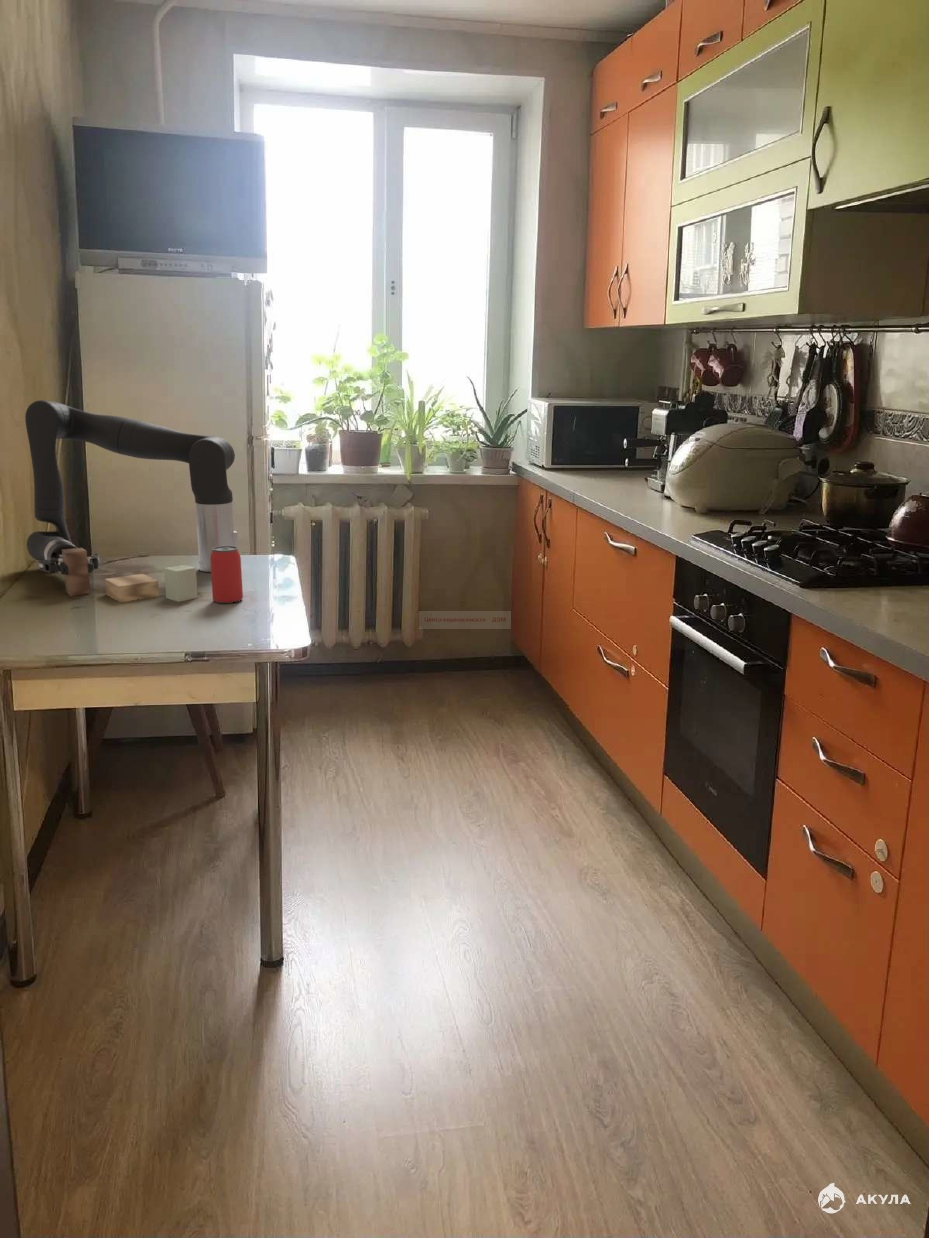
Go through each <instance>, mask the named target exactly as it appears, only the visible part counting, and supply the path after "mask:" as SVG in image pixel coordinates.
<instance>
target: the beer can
mask: <svg viewBox="0 0 929 1238" xmlns="http://www.w3.org/2000/svg"><path fill="white" fill-rule="evenodd" d="M237 549H238V550H237ZM212 550H213V551H212V554H211V558H210V562H211V572H210V577H211V591H212V600H213V602H215V603H217V602H218V604H223V603H228V604H234V603H233V602H236V603H239V602H241V601H242V600H243V598H244V593H243V579H242V578H243V575H242V574H243V573H242V557H241V554H240V551H239V547H238V548H237V547H235V546H219V547H214V548H213V549H212ZM240 600H241V601H240Z"/></svg>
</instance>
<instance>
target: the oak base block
mask: <svg viewBox="0 0 929 1238" xmlns="http://www.w3.org/2000/svg"><path fill="white" fill-rule="evenodd" d="M104 587H105V588H104V589H105V595H106V596H108V597H109V596H110V598H112V599H113V600H115V601H116V602H118V603H125V602H131V601H132V600H133V601H138V600H137V599H139V600H145V599H151V598H158V597H160V593H159V592H160V591H159V589H160V588H159V581H158V580H157V579H155V578H153V577H151V576H149V575H146V574H144V573H140V574H138V573H137V574H132V575H125V576H118V577H117V576H116V577H110V578H104Z"/></svg>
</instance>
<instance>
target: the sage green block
mask: <svg viewBox="0 0 929 1238" xmlns="http://www.w3.org/2000/svg"><path fill="white" fill-rule="evenodd" d="M163 571H164V572H163V575H164V585H165V586H164V587H165V597H166V599H169V600H172V601H175V602H178V603H179V602H182V601H183V602H184V601H188V600H192V599H193V600H195V599H198V585H197V584H198V583H197V568H196V567H194V566H190V565H187V564H179V565H174V566H167V567H164V568H163Z"/></svg>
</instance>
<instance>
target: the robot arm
mask: <svg viewBox="0 0 929 1238" xmlns="http://www.w3.org/2000/svg"><path fill="white" fill-rule="evenodd" d="M24 415H25V416H24V420H25V428H26V432H27V433H26V434H27V439H28V443H29V444H28V445H29V452H30V457H31V464H32V472H33V473H32V474H33V487H34V488H33V490H34V491H33V492H34V493H33V495H34V504H33V505H34V507H33V508H34V510H33V511H34V518H35V519H36V520H37V521H38V522H43V523H48V524H51V525H53V526H54V528H55V531H48V530H47V531H44V530H41V531H38V530H37V531H33V532H32V533H31V534H30V535H29V536H28V537H27V540H26V550H27V552H28V554H29V556H31V558H33V560H36V561H38V567H39V571H41V572H45V573H47V574H55V573H57V574H60V575H63V576H64V575H69V572H68V566H67V565H66V564H65V563H63V557H62V550H63V549H74V548H78V547H77V546H76V545H75V544H74V543H72V539H71V536H70V533H69V530H68V526H67V521H66V516H65V515H66V514H65V489H64V482H63V479H62V475H61V473H60V470H59V466H58V460H57V452H56V449H57V448H56V444H57V440H69V441H70V440H71V441H79V442H85V443H90V444H92V445H95V446H97V447H100V448H101V449H104V450H106V451H110V452H112V453H115V454H118V455H123V456H127V457H132V458H136V459H142V460H157V461H158V460H159V461H174V462H175V461H176V462H177V461H178V462H182V463H186V464H188V468H189V469H188V470H189V477H190V486H191V491H192V494H193V496H194V502H195V503H194V504H195V518H196V519H195V521H196V532H197V533H196V534H197V535H196V536H197V549H198V552H197V553H198V565H199V570H200V571H201V572H207V573H211V562H210V558H211V554H212V551H213V550H212V549H213V548H214V547H219V546H235V547H237V548H238V549H237V550H238V551H239V541H238V540H239V537H238V532H237V531H236V530H235V519H234V515H235V514H234V503H233V501H234V500H233V499H234V498H233V492H232V491H233V490H231V489H230V487H229V485H228V475H227V470H228V469H229V468H231V466H232V465H233V464H234V461H235V457H236V456H235V455H236V454H235V450H234V448H233V446H232V445H231V443H229V441H228V440H226V439H224V438H222V437H220V436H215V435H214V436H213V435H203V434H202V435H201V434H195V433H189V432H188V433H187V432H182V431H178V430H175V429H172V428H168V427H165V426H162V425H157V424H155V423H150V422H146V421H142V420H138V419H134V418H129V417H124V416H117V415H108V414H96V413H90V412H88V411H84V410H81V409H79V408H78V409H77V408H75V407H72V406H69V405H67V404H64V403H61V402H57V401H52V400H44V399H41V400H39V399H38V400H35V401H33V402H32V403H30V405H29V406H28V407H27V408H26V411H25V414H24ZM87 561H88V573H92V572H93V571H94V570H98V569H99V567H100V555H99V553H93V554H91V555H90V556H87Z"/></svg>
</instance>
